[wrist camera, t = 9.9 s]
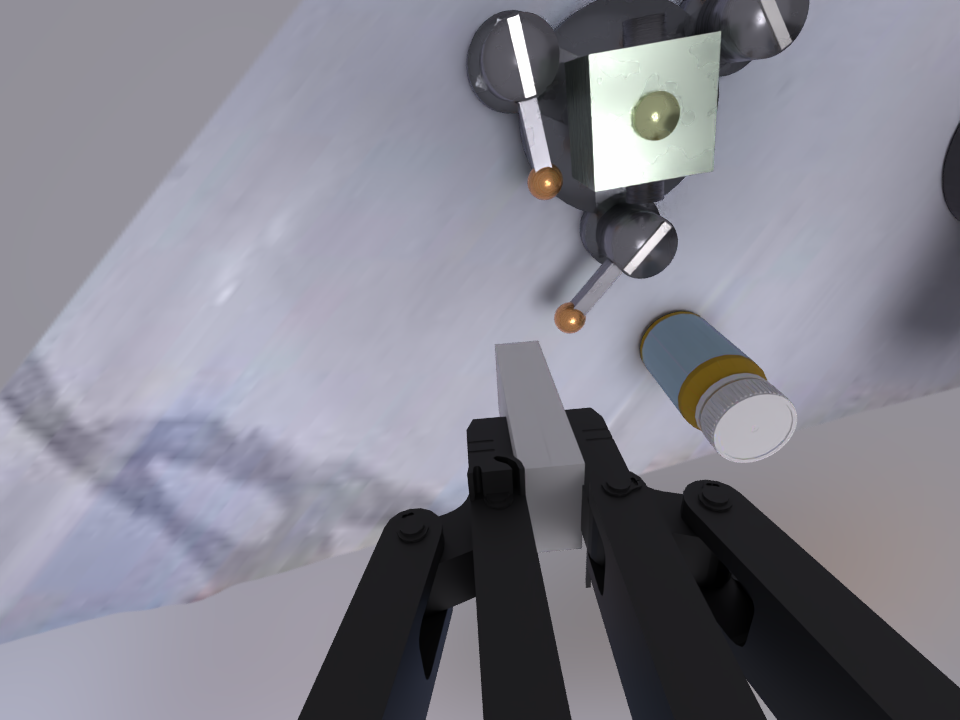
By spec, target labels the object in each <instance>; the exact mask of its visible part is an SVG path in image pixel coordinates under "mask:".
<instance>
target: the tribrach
mask: <svg viewBox="0 0 960 720" xmlns="http://www.w3.org/2000/svg"><path fill="white" fill-rule="evenodd" d="M705 1H706V0H683V2H682V3H681V5H680V7H679V6H677V5H675V4H674V3H672V2H670V1H668V0H597V1H595V2H593V3H590V4H589V5H587V6H585V7H584V8H582V9H580V10H579V11H577V12H576V13H574V14H573V15H571V16H570V17H569V18H567V19H566V20H565V21H564V22H563V23H561V24H560V25H559V26H558V27H557V28H556V29H555V30H554V33H555V35H556V37H557V40H558V44H559V50H560V59H559V66H558V70H557V73H556V76H555V78H554V80H553V82H552V83H551V85H550V86H549V87H548V88H547V89H546V90H545V92H543V93H542V94H541V95H539V96H538V97H536V98H537V102H538V107H539V111H540V116H541V120H542V125H543V129H544V134H545V138H546V143H547V147H548V152H549V156H550V161H551V164H554V165H555V166H557V167H558V168H559V170H560V171H561V173H562V176H563V185H562V188H561V190H560V192H559V193H558V194H557V195H556V196H557V197H558V198H560V199H561V200H563V201H564V202H565V203H567V204H569V205H571V206H573V207H575V208H577V209H580V210H583V211H585V212H584V214H583V216H582V219H581V224H580V235H581V240H582V242H583V245H584V247H585V248H586V250H587V251H588V252H589V253H590V254H591V255H592V256H593V257H594V258H595V259H596V260H597V261H598V262H600V263H601V264H603V263H604V261H605V260H606V259H607V258H608V257H606V256H605V255H604V254H603V253H602V251H601V250H600V249H599V247H598V245H597V242H596V228H597V225H598V222H599V220H600V218H601V217H602V216H603V214H604V213H605V212H606V211H607V210H608V209H610V208H611V207H613V206H615V205H617V204H619V203H623V202H627V203H630V204H639V205H641V206H643V207H645V208H646V209H648V210H650V211H652V212H654V213H656V214H658V215H659V216H660V214H659V211H658V209H657V207H656V206H655V204H654V203H653V202H657V201H660V200H662V199H664V195H666V194H667V193H668V192H670V191H671V190H672V189H673V188H674V187H675V186H677V185H678V184H679V183H680V182H681V181H682V180H683V179H684V177H685V176H688V175H694V174H700V173H706V172H711V171H713V165H714V148H715V131H716V113H717V107H718V98H719V80H718V79H719V77H720V76H726V75H730V74H733V73H735V72H737V71H739V70H741V69H742V68H743V67H745V66H746V65H747V64H748V63H749V62H751V61H752V60H750V61H742V62H735V63H727V64H719V62H720V44H721V31H718V32H713V33H707V34H701V35H696V36H695V25H696V20H697V17H698V14H699V12H700V10H701V8H702V6H703V4H704V3H705ZM517 12H522V11H516V10H510V11H504V12H500V13H498V14H495V15H493V16H492V17H490V18H489V19H488V20H486V21H485V22H484V23H483V24H482V25H481V26H480V27H479V29H478V30H477V32H476V33H475V35H474V37H473V39H472V42H471V44H470V47H469V50H468V54H467V75H468V80H469V83H470V86H471V88H472V90H473V92H474V93H475V95H476V96H477V97H478V99H479V100H480V101H481V102H482V103H483V104H485V105H486V106H487V107H489V108H491V109H493V110H495V111H498V112H503V113H518V112H519V110H518V106H517V102H520V101H504V100H501V99H499V98H497V97H495V96H494V95H492V94H491V93H490V92H489V91H488V89H487V88H486V87H485V85H484V83H483V81H482V79H481V76H480V71H479V56H480V51H481V48H482V46H483V44H484V42H485V40H486V38H487V37H488V35H489V34H490V32H491V31H492V29H493V28H494V26H495V25H496V24H497V23H498V22H499V21H500V20H502V19H503V18H505V17H506V16H508V15H510V14H513V13H517ZM519 125H520V134H521V140H522V144H523V148H524V151H525V154H526V157H527V159H528V161H529V163H530V166H531V167H532V165H531V160H530V156H529V152H528V148H527V144H526V140H525V135H524V131H523V127H522V123H521V119H520V114H519ZM608 259H609V258H608ZM609 260H610V259H609ZM610 261H611V260H610Z"/></svg>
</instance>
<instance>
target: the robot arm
mask: <svg viewBox="0 0 960 720" xmlns="http://www.w3.org/2000/svg"><path fill="white" fill-rule="evenodd" d="M943 187H944V194H945V199H946V202H947V204H948V207H949V209H950V210H951V212H952V213H953V215H954V216H955V217H956V218H957V219H958V220H959V221H960V126H959V128H958V130H957V132H956V134H955V136H954V138H953V141H952V143H951V146H950V148H949V151H948V154H947V158H946V162H945V167H944V176H943ZM495 355H496V371H497V388H498V404H499V414H500V417H495V418H484V419H473V420H472V422H471V424H470V425H469V427H468V429H467V446H468V463H469V468H468V472H467V477H468V486H469V495H468V497H467V500H466V501H465V502H464V503H463V504H462V505H461V506H460V507H458V508H457V509H456V510H454V511H451V512H449V513H447V514H444V515H442V516H439V517H438V516H437V515H436V514H435V513H433V512H432V511H430V510H426V509H422V508H418V509H409V510H406V511H403V512H400V513H398V514H397V515H395V516H394V517H393V518H391V519H390V520H389V522H388V523H387V525H386V526H385V527H384V530H383V532H382V534H381V536H380V538H379V541H378V543H377V545H376V547H375V550H374V552H373V554H372V556H371V558H370V561H369V563H368V565H367V567H366V569H365V572H364V574H363V576H362V579H361V581H360V583H359V585H358V587H357V590H356V592H355V594H354V596H353V598H352V600H351V603H350V605H349V607H348V609H347V612H346V614H345V616H344V618H343V621H342V623H341V625H340V627H339V629H338V631H337V634H336V636H335V638H334V640H333V643H332V645H331V647H330V649H329V651H328V654H327V656H326V658H325V661H324V663H323V665H322V667H321V669H320V671H319V674H318V676H317V678H316V680H315V683H314V685H313V687H312V689H311V691H310V693H309V696H308V698H307V700H306V702H305V705H304V707H303V709H302V711H301V714H300V716H299V718H298V720H426V716H427V712H428V708H429V704H430V700H431V696H432V692H433V688H434V684H435V680H436V676H437V672H438V668H439V664H440V660H441V656H442V651H443V647H444V643H445V639H446V635H447V631H448V627H449V624H450V619H451V615H452V611H453V606H455V605H458V604H460V603H462V602H465V601H467V600H469V599H472V598H474V597H476V605H477V621H478V638H479V654H480V668H481V669H480V670H481V684H482V685H481V686H482V703H483V719H484V720H571V715H570V710H569V705H568V700H567V695H566V690H565V686H564V680H563V676H562V671H561V666H560V661H559V656H558V651H557V646H556V641H555V636H554V632H553V626H552V622H551V617H550V612H549V607H548V602H547V597H546V592H545V587H544V583H543V577H542V573H541V568H540V563H539V558H538V553H539V552H550V551H560V550H571V549H581V548H582V535H583V538H584V541H585V544H586V547H587V559H586V588H588V587H591V582H592V585H593V588H594V592H595V595H596V599H597V602H598V605H599V609H600V612H601V615H602V619H603V622H604V625H605V629H606V632H607V635H608V638H609V642H610V645H611V649H612V652H613V656H614V659H615V662H616V666H617V669H618V672H619V676H620V679H621V683H622V686H623V689H624V692H625V696H626V699H627V703H628V706H629V709H630V713H631V716H632V720H767V719H766V717H765V715H764V713H763V711H762V709H761V707H760V705H759V703H758V701H757V700H756V697H755V695H754V694H753V692H752V690H751V688H750V686H749V684H748V682H749V683H750V684H751V686H752V687H753V688H754V690H755V691H756V692H757V694H758V695H759V696H760V698H761V699H762V700H763V701H764V703H765V704H766V705H767V707H768V708H769V709H770V711H771V712H772V713H773V715H774V716H775V717H776V718H777V720H960V688H959V687H958V686H957V685H956V684H955V683H954V682H952V681H951V680H950V679H949V678H948V677H947V676H946V675H945V674H943V673H942V672H941V671H940V670H939V669H938V668H937V667H936V666H934V665H933V664H932V663H931V662H930V661H929V660H928V659H926V658H925V657H924V656H923V655H922V654H921V653H919V651H917V650H916V649H915V648H914V647H913V646H912V645H911V644H910V643H908V642H907V641H906V640H905V639H904V638H903V637H902V636H901V635H900V634H898V633H897V632H896V631H895V630H894V629H893V628H892V627H891V626H889V625H888V624H887V623H886V622H885V621H884V620H883V619H882V618H880V617H879V616H878V615H877V614H876V613H875V612H873V611H872V610H871V609H870V608H869V607H868V606H867V605H866V604H865V603H863V602H862V601H861V600H860V599H859V598H858V597H857V596H856V595H854V594H853V593H852V592H851V591H850V590H849V589H847V587H845V586H844V585H843V584H842V583H841V582H840V581H839V580H837V579H836V578H835V577H834V576H833V575H832V574H831V573H830V572H828V571H827V570H826V569H825V568H824V567H823V566H822V565H821V564H820V563H818V562H817V561H816V560H815V559H814V558H813V557H812V556H811V555H809V554H808V553H807V552H806V551H805V550H804V549H802V548H801V547H800V546H799V545H798V544H797V543H796V542H795V541H794V540H793V539H791V538H790V537H789V536H788V535H787V534H786V533H785V532H783V531H782V530H781V529H780V528H779V527H778V526H777V525H776V524H774V523H773V522H772V521H771V520H770V519H769V518H768V517H767V516H765V515H764V514H763V513H762V512H761V511H760V510H759V509H758V508H756V507H755V506H754V505H753V504H752V503H751V502H750V501H749V500H747V499H746V498H745V497H744V496H743V495H742V494H741V493H740V492H738V491H736V490H735V489H734V488H732V487H731V486H729V485H726V484H724V483H721V482H718V481H711V480H700V481H695V482H693V483H691V484H689V485H687V487H686V488H685V490H684V491H683V494H677V493H671V492H663V491H659V490H654V489H652V488H649V487H647V486H646V484H645V483H644V481H643V480H642V479H641V478H640V477H639V476H637V475H636V474H634V473H632V472H630V471H629V470H628V468H627V466H626V464H625V462H624V460H623V458H622V456H621V454H620V452H619V450H618V447H617V445H616V443H615V441H614V439H612V435H611V433H610V431H609V430H608V427H607V425H606V423H605V421H604V419H603V417H602V416H601V415H599V414H598V413H597V412H596V411H594V410H593V409H592V408H581V409H570V410H564V407H563V405H562V402H561V399H560V397H559V394H558V391H557V389H556V386H555V384H554V381H553V378H552V376H551V373H550V370H549V368H548V365H547V363H546V360H545V357H544V355H543V352H542V349H541V347H540V344H539V342H538V341H529V342H518V343H506V344H495ZM746 679H747V680H746ZM747 681H748V682H747Z"/></svg>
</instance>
